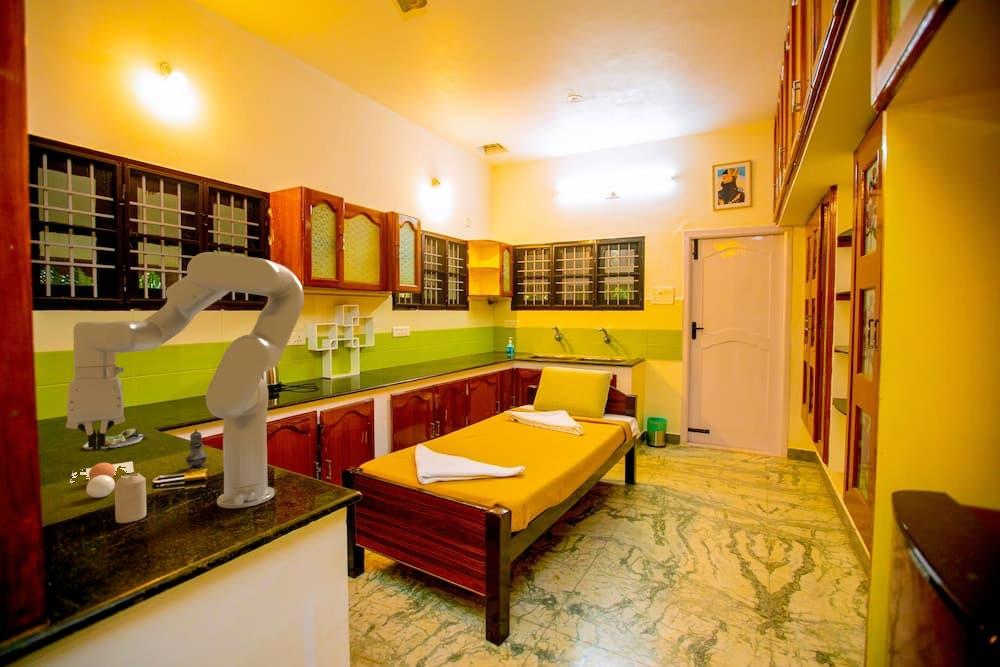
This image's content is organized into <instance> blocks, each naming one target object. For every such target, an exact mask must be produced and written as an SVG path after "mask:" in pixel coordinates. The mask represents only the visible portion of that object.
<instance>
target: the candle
mask: <svg viewBox="0 0 1000 667" xmlns="http://www.w3.org/2000/svg"><path fill="white" fill-rule="evenodd" d="M146 480H147V479H146V477H144V476H143V475H142V474H140V473H139V472H134V473H132V474H125V475H120V477H119V478H118V480H117V481H115V486H114V508H115V510H114V511H115V515H114V516H115V522H116V523H117V524H126V523H132V522H136V521H139V520H142V519H144V518H146V516H147V487H146V486H147V482H146Z"/></svg>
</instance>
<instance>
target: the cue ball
mask: <svg viewBox="0 0 1000 667" xmlns="http://www.w3.org/2000/svg"><path fill="white" fill-rule="evenodd" d="M115 483H116V481H115V479H114V478H113V477H112V478H111V477H110V476H107V475H100V476H97V477H94V478H93V479H91V480H88V482H87V485H86V488H85V489H86V493H87V494H88V495H89V496H90V497H92V498H99V499H100V498H104V497H106V496H108V495H110V494H111V493H112V491H114V490H115Z"/></svg>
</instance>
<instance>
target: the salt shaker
mask: <svg viewBox="0 0 1000 667" xmlns="http://www.w3.org/2000/svg"><path fill="white" fill-rule="evenodd" d="M189 436H190V444H188V446H190V453H189V455H188V456H186V457H185V458H184V460H185V462H186V463H187V465H189V466H188V467H187V468H186V469H187V470H192V469H200V468H204V467H205V466H207V465H206V464H205V463H206V461H207V457H208V453H204V451H203V444H204V443H203V441H202V433H201V432H199V431H198V430H197V429H195V430H194V432H192V433H191V434H190V435H189ZM187 470H186V471H187Z"/></svg>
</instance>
